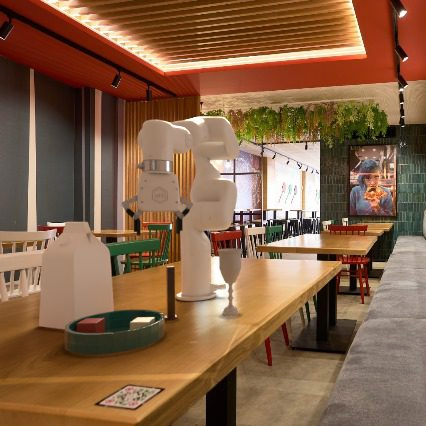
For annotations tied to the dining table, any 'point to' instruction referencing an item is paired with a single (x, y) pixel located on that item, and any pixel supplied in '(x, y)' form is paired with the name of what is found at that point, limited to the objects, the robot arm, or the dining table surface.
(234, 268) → the chalice
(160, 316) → the bowl
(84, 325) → the red block
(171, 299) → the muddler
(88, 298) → the milk
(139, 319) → the cream block
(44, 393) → the dining table surface
